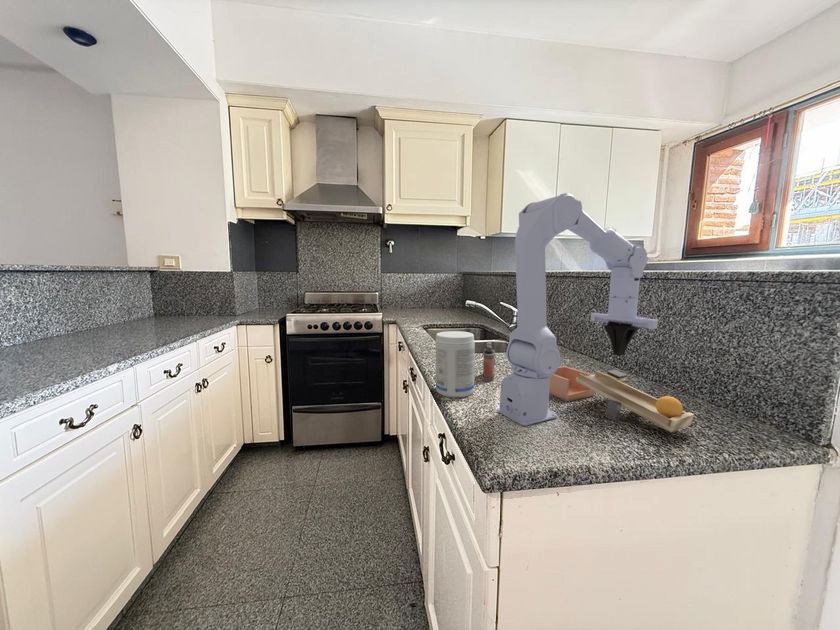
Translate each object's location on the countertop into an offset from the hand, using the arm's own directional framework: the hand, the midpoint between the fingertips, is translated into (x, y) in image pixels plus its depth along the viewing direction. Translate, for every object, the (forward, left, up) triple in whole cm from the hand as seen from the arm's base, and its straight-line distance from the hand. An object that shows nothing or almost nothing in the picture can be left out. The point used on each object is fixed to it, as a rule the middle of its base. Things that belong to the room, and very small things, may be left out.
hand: (618, 354), depth 77 cm
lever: (-5, -8, -7) cm, 12 cm away
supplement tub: (-34, +19, -11) cm, 40 cm away
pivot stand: (-9, -8, -10) cm, 15 cm away
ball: (-9, -15, -6) cm, 18 cm away
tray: (-9, +7, -10) cm, 15 cm away
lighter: (-19, +25, -11) cm, 33 cm away
